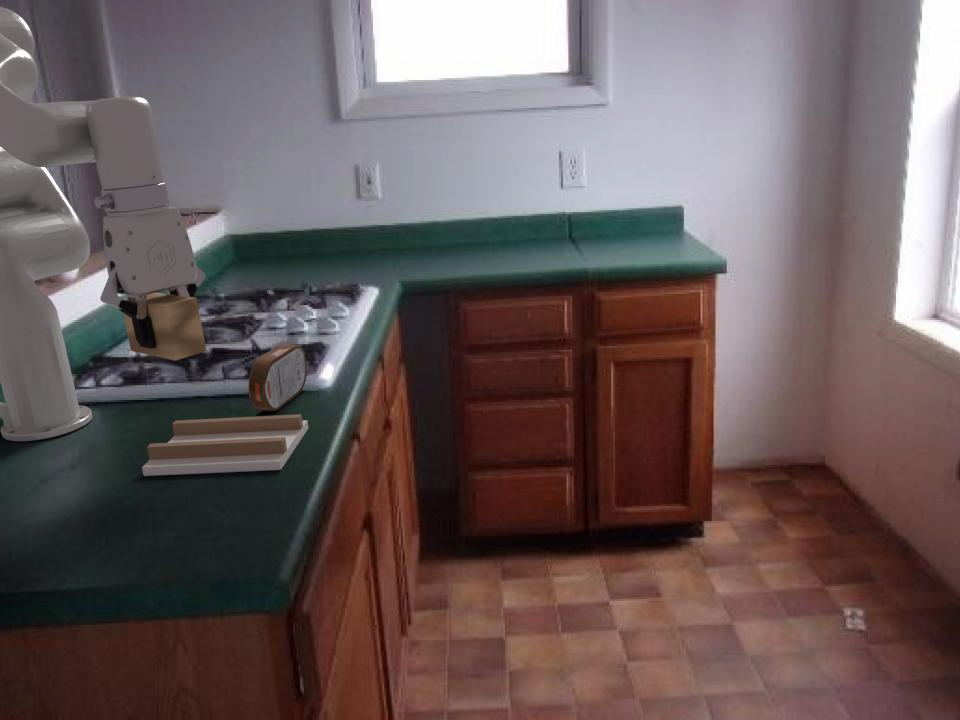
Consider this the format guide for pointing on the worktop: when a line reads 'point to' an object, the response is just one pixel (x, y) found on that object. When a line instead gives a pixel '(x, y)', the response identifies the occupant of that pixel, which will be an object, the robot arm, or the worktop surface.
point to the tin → (277, 377)
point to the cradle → (227, 445)
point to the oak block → (171, 327)
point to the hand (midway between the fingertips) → (166, 340)
